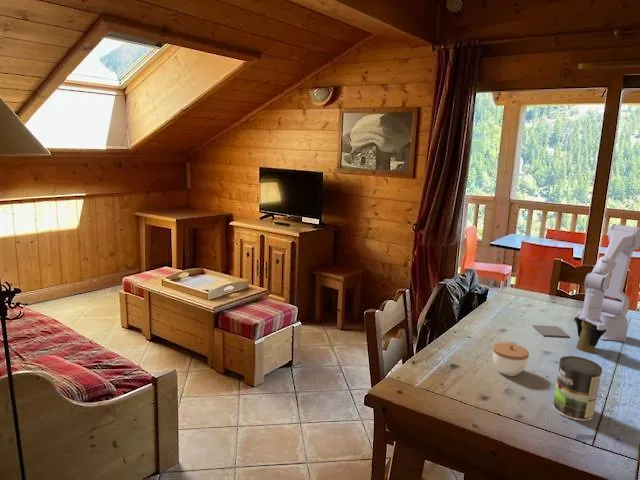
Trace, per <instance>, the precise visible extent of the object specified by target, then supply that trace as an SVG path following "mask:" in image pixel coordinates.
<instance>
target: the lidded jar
mask: <svg viewBox="0 0 640 480" xmlns="http://www.w3.org/2000/svg"><path fill="white" fill-rule="evenodd" d="M529 353H530V352H529V351H528V349H526V347H524V346H521V345H519V344H516V343H513V342H512V343H510V342H497V343H494V344H493V346H492V361H493V364H494V367H495V368H496V370H497V371H498V372H499V373H500V374H502V375H505V376H509V377H515V376H518V375H519V374H520V373H522V372H524V370H525V368H526V367H527V364H528V360H529V359H528V358H529Z"/></svg>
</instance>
